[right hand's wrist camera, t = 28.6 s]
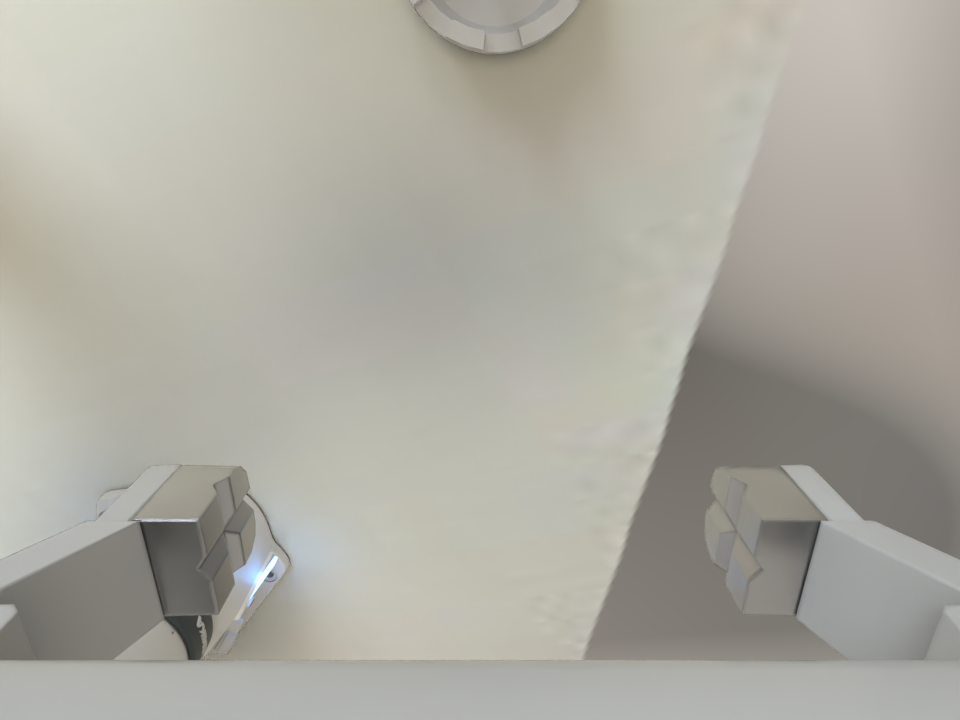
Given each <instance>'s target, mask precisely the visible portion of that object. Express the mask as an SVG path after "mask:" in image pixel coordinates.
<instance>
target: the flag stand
mask: <svg viewBox="0 0 960 720" xmlns="http://www.w3.org/2000/svg"><path fill="white" fill-rule="evenodd" d="M410 1H411V3H412V5H413V7H414V8H415V10H416V12H417V13H418V14H419V15H420V16H421V18H422V19H423V20H424V21H425V22H426V23H427V24H428V26H429V27H430V28H431V29H432V30H434V31H435V32H436V33H438V34H439V35H440V36H441V37H443V38H444V39H445V40H447V41H449V42H451V43H453V44H455V45H457V46H459V47H461V48H463V49H465V50H469V51H474V52H478V53H482V54H506V53H511V52H516V51H521V50H523V49H525V48H528V47H530V46H532V45H535V44H537V43H539V42H540V41H542V40H543V39H545V38H546V37H547V36H549V35H550V34H552V33H553V32H555V31H556V30H557V29H558V28H559V27H560V26H561V24H562V23H563V22H564V21H565V20H566V19H567V18H568V17H569V16H570V15H571V14H572V13H573V11H574V9H575V8H576V6H577V5H578V3H579V2H580V0H410Z"/></svg>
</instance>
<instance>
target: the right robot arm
mask: <svg viewBox="0 0 960 720" xmlns="http://www.w3.org/2000/svg"><path fill="white" fill-rule="evenodd" d="M249 489H250V486H249V481H248V477H247V472H246V471H245V470H244V469H243V468H242V467H241V466H201V465H185V466H183V465H155V466H151V467H148V468H147V469H146V470H145V471H144V472H143V473H142V474H141V475H140V476H139V477H138V479H137V480H136V481H135V482H134V483H133V484H132V485H131V486H130V487H129V488H128V489H119V490H113V491H109V492H106V493H104V494H103V495H102V497H101V498H100V499H99V501H98V502H97V507H96V521H85V522H83V523H80V524H78V525H76V526H74V527H72V528H69V529H67V530H65V531H63V532H61V533H58V534H56V535H54V536H52V537H49V538H47V539H45V540H43V541H41V542H38V543H36V544H34V545H32V546H30V547H27V548H25V549H23V550H21V551H19V552H16V553H14V554H12V555H10V556H8V557H5V558H3V559H1V560H0V720H960V560H959V559H957V558H954V557H952V556H950V555H948V554H946V553H943V552H941V551H939V550H937V549H935V548H932V547H930V546H928V545H926V544H924V543H921V542H919V541H917V540H915V539H913V538H910V537H908V536H906V535H904V534H902V533H899V532H897V531H895V530H893V529H891V528H888V527H886V526H884V525H882V524H880V523H877V522H875V521H864V520H863V519H862V518H861V517H860V516H859V515H858V514H857V513H856V512H855V511H854V510H853V509H852V508H851V507H850V506H849V505H848V504H847V503H846V502H845V501H844V500H843V499H842V498H841V497H840V496H839V495H838V494H837V493H836V492H835V491H834V490H833V489H832V488H831V487H830V485H828V483H827V482H826V481H825V480H824V479H823V478H822V477H821V476H820V475H819V474H818V473H817V472H816V471H815V470H814V469H813V468H812V467H809V466H807V465H779V466H747V467H717V468H716V469H715V471H714V473H713V476H712V481H711V486H710V489H711V490H712V492H713V494H714V495H715V497H716V498H717V500H716V501H715V502H714V503H713V504H712V505H711V506H710V507H709V508H708V509H707V510H706V516H705V524H704V530H705V542H706V546H707V549H708V552H709V555H710V557H711V559H712V561H713V563H714V565H716V566H717V567H719V568H720V569H722V570H723V571H725V572H726V573H727V575H726V581H725V585H726V587H727V589H728V591H729V593H730V594H731V596H732V598H733V600H734V602H735V604H736V606H737V607H738V609H739V611H740V613H741V615H765V616H796V620H798V621H799V622H800V623H802V624H803V625H804V626H805V627H806V628H808V629H809V630H810V631H811V632H813V633H814V634H815V635H816V636H818V637H819V638H820V639H821V640H823V641H824V642H825V643H827V644H828V645H829V646H830V647H832V648H833V649H834V650H835V651H837V652H838V653H839V654H840V655H842V656H843V657H844V658H845V659H847V660H202V659H203V658H204V657H205V656H206V655H207V654H215V653H222V654H224V655H225V654H226V655H227V654H228V652H229V651H230V649H231V648H232V646H233V645H234V643H235V641H236V639H237V637H238V635H239V631H240V629H241V628H242V627H243V626H244V624H245V623H246V622H247V621H248V619H249V618H250V617H251V616H252V614H253V613H254V612H255V610H256V609H257V608H258V607H259V605H260V604H261V603H262V602H263V600H264V599H265V598H266V597H267V595H268V594H269V593H270V591H271V590H272V589H273V588H274V586H275V585H276V584H277V583H278V581H279V580H280V579H281V578H282V576H283V575H284V574H285V572H286V571H287V569H288V567H289V565H290V561H289V558H288V557H287V555H286V554H285V553H284V551H283V550H282V549H281V548H280V547H279V546H278V545H277V544H276V543H275V541H274V540H273V538H272V535H271V532H270V529H269V526H268V523H267V521H266V519H265V517H264V515H263V513H262V512H261V510H260V509H259V508H258V506H257V505H256V504H255V503H254V502H253V501H252V500H251V499H250V498H249V497H248V496H247V495H246V494H247V492H248V490H249ZM270 571H271V572H270ZM272 572H273V573H272Z"/></svg>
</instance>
